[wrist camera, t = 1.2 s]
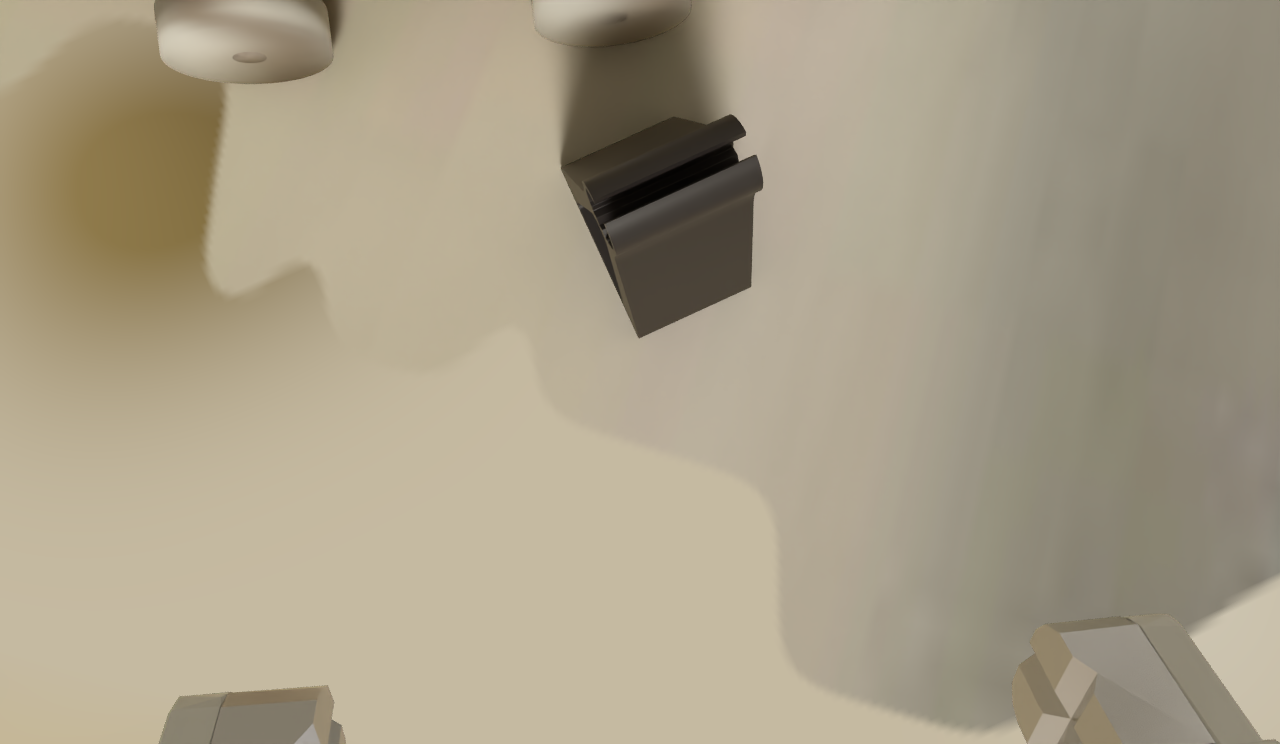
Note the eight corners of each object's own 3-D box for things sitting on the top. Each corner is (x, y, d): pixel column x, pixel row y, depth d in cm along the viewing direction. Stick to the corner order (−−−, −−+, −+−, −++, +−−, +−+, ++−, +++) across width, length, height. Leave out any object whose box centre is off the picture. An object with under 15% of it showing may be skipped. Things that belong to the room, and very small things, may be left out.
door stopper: (560, 168, 44) (545, 95, 32) (673, 118, 45) (700, 27, 33) (637, 338, 45) (650, 328, 33) (750, 288, 45) (803, 259, 33)
